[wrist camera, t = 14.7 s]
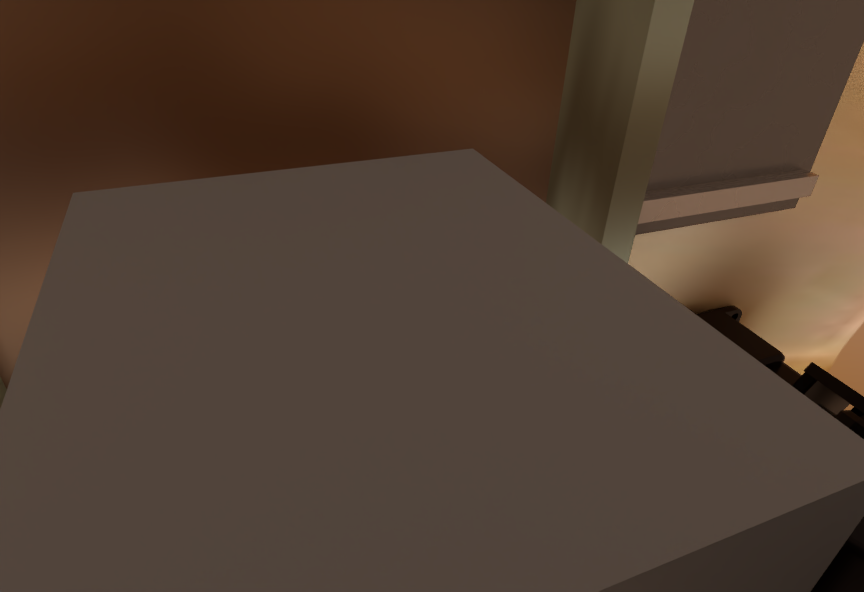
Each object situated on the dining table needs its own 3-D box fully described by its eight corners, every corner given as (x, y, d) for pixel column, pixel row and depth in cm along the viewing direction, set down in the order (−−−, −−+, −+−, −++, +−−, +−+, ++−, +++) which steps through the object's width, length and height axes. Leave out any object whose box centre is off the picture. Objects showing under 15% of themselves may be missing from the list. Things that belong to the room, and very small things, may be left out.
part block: (456, 406, 11) (678, 778, 6) (173, 481, 9) (181, 1063, 4) (472, 148, 8) (901, 466, 3) (73, 192, 6) (-172, 912, 2)
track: (784, 202, 28) (809, 214, 27) (-37, 338, 17) (-50, 366, 16) (901, -90, 22) (940, -91, 20) (-304, -175, 11) (-359, -186, 9)
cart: (507, 258, 21) (604, 354, 17) (11, 343, 16) (-52, 517, 11) (549, -97, 15) (720, -104, 11) (-215, -141, 10) (-543, -193, 5)
